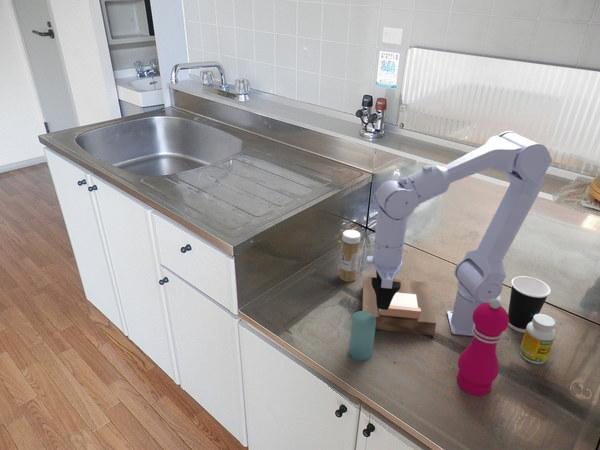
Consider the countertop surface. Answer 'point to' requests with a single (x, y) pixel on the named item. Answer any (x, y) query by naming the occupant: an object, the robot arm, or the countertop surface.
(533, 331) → the supplement bottle
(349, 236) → the sprinkles bottle
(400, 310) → the panel
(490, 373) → the pepper mill
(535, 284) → the dixie cup
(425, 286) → the socket block
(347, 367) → the countertop surface
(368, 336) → the peg
